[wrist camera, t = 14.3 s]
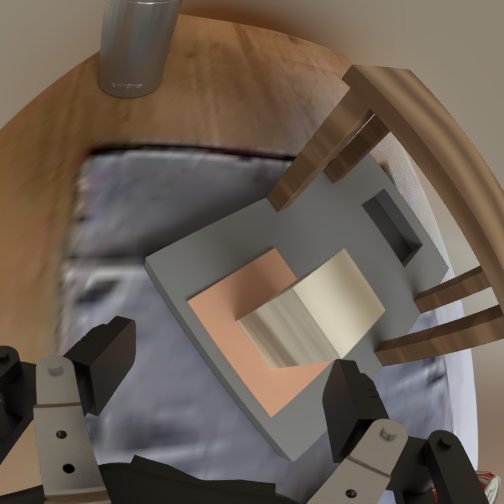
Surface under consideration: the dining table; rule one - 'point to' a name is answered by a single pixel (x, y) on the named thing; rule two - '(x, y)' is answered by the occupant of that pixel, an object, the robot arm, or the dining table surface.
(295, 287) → the block
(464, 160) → the shelter
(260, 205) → the slotted grey base plate
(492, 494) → the soda can
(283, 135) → the dining table surface
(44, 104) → the dining table surface
